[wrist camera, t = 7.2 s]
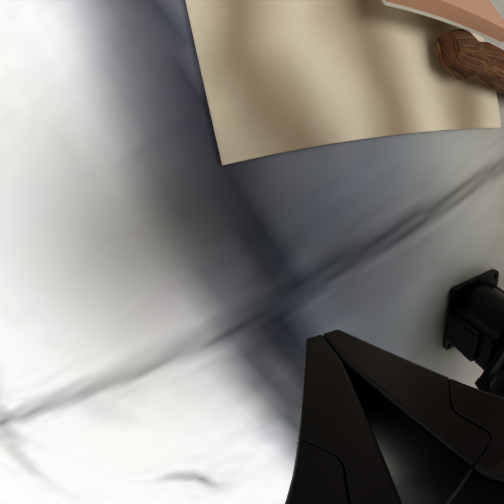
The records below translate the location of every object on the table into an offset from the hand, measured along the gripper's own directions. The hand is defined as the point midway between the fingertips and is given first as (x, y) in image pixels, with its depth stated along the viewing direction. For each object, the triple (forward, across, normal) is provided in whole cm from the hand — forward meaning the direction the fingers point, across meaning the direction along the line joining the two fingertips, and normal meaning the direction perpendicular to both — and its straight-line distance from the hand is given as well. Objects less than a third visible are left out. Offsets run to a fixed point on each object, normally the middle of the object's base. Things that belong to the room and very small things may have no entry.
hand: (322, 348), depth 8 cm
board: (+12, -10, -14) cm, 21 cm away
